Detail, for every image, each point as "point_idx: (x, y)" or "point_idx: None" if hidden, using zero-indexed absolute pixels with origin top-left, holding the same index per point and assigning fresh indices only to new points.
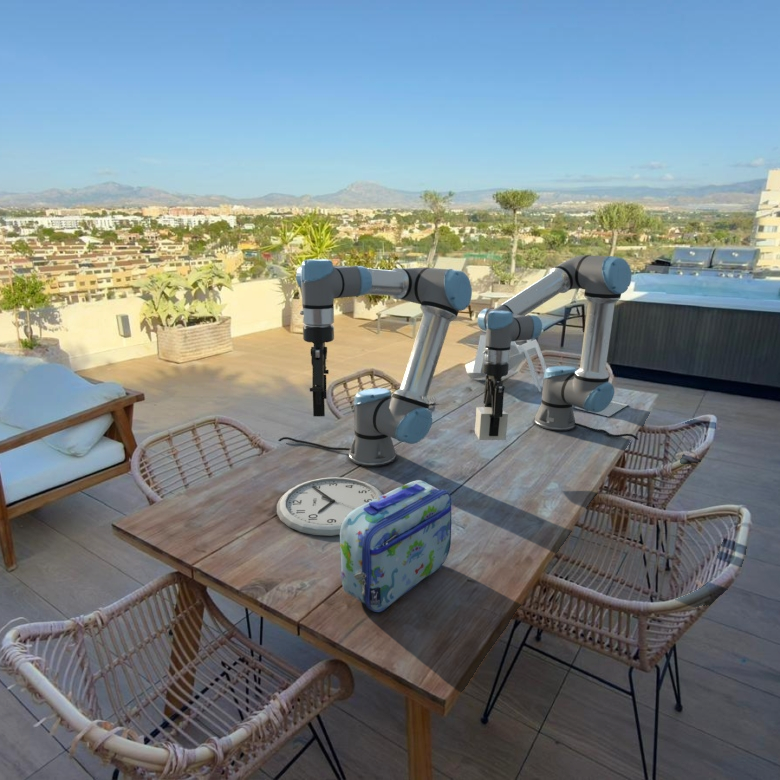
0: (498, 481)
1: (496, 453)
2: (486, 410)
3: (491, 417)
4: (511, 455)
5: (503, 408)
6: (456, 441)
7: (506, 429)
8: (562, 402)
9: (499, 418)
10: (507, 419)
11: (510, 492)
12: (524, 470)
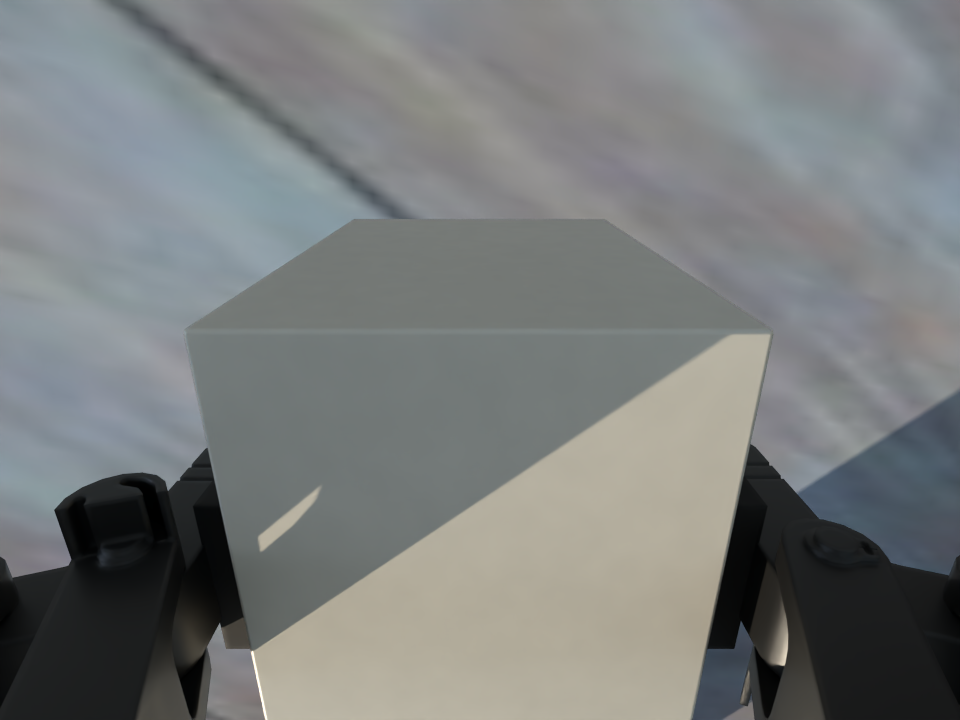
0: (787, 290)
1: (314, 177)
2: (488, 715)
3: (731, 630)
4: (347, 45)
5: (319, 337)
6: (121, 430)
7: (644, 246)
8: None
9: (748, 483)
10: (711, 289)
11: (956, 251)
12: (653, 19)
